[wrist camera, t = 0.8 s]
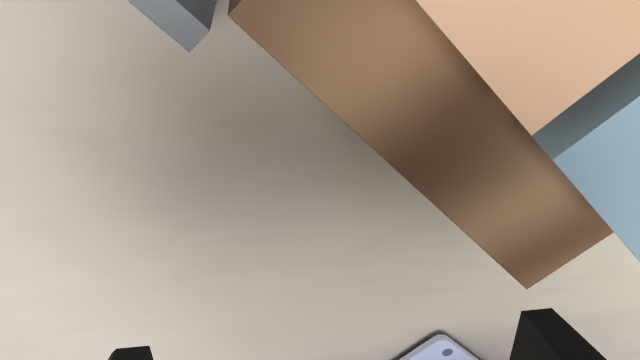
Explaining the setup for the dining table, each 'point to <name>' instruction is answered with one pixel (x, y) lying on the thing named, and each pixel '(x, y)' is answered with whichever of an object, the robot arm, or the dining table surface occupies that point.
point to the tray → (180, 18)
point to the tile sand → (540, 48)
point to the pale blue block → (603, 150)
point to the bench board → (431, 123)
